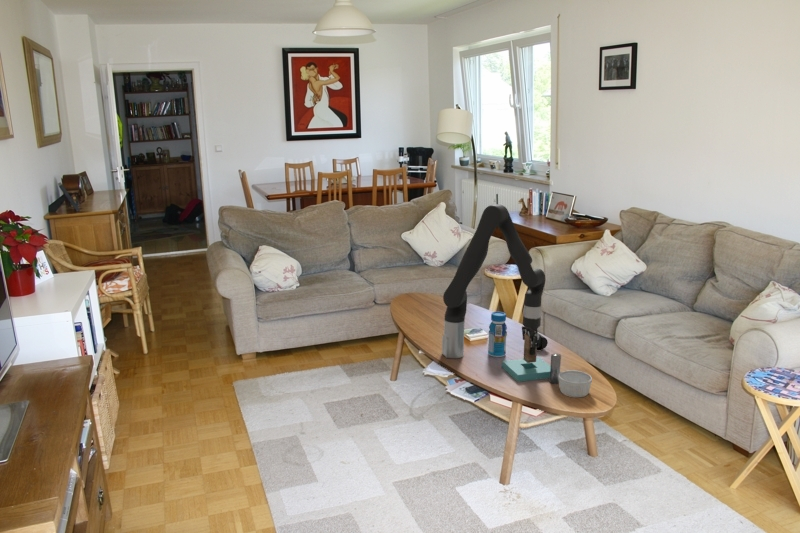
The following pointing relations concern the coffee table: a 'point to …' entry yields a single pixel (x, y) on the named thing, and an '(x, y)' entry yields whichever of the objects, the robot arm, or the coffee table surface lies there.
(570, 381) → the ramekin
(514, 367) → the socket block
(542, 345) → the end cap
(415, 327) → the coffee table surface
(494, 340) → the beverage bottle
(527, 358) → the square peg
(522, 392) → the coffee table surface
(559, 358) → the round peg
